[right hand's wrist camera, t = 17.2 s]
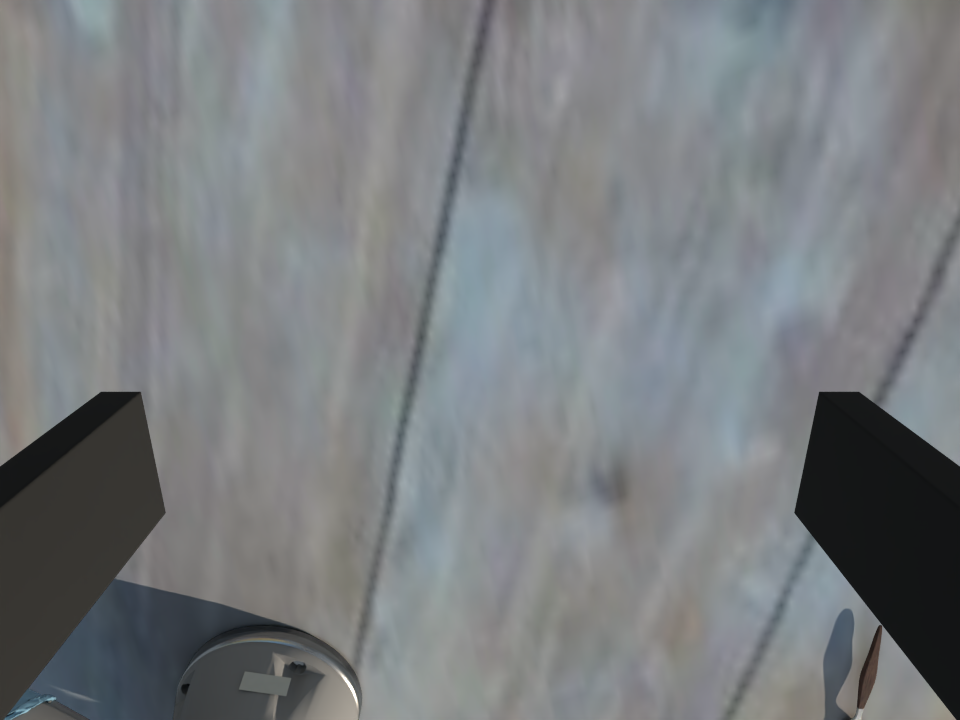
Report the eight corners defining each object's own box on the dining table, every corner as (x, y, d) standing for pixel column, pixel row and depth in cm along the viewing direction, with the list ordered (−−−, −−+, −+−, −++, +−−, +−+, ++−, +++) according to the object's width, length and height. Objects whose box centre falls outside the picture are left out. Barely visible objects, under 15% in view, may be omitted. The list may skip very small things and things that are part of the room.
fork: (893, 620, 53) (908, 638, 51) (858, 758, 59) (870, 779, 57) (861, 621, 53) (875, 639, 51) (829, 759, 59) (840, 780, 57)
